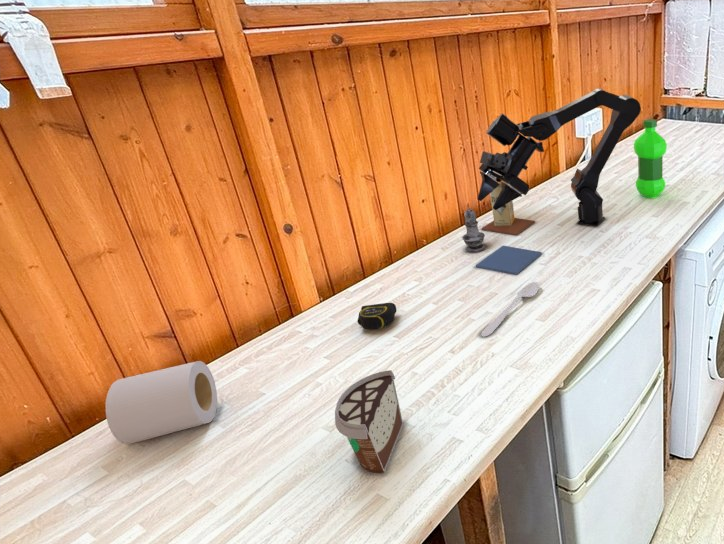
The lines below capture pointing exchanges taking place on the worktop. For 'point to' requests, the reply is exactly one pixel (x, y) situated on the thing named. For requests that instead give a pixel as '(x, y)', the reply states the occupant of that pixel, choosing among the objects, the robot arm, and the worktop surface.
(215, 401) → the toilet paper
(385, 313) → the tape measure
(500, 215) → the shoe polish box
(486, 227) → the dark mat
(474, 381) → the worktop surface
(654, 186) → the plastic bottle
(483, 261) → the blue mat
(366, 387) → the food container
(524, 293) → the spoon
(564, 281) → the worktop surface
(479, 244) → the grey chess piece
